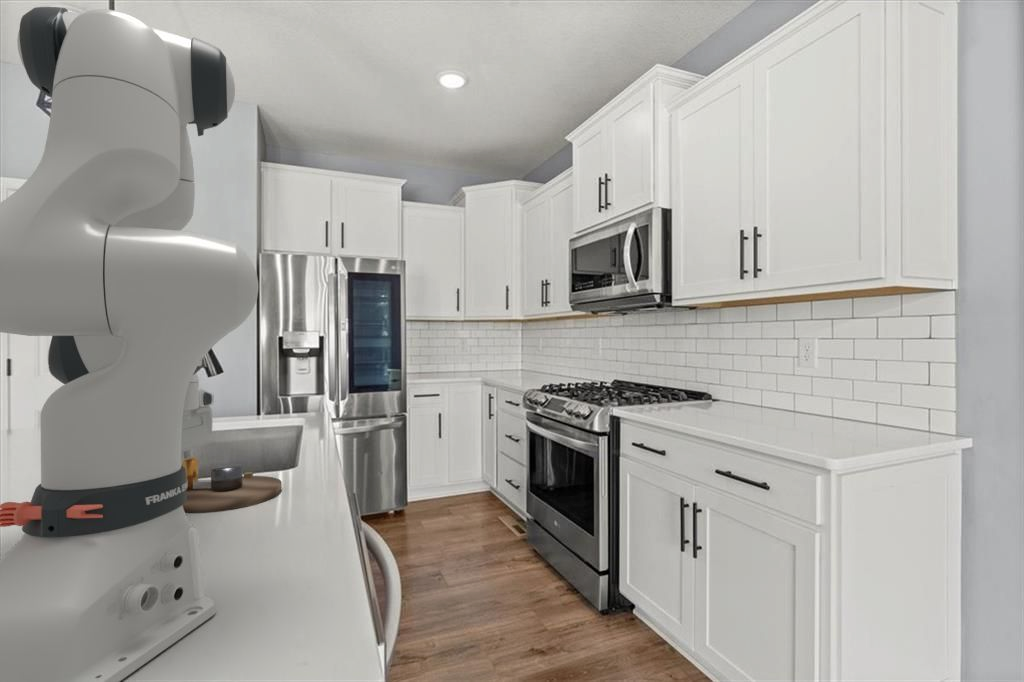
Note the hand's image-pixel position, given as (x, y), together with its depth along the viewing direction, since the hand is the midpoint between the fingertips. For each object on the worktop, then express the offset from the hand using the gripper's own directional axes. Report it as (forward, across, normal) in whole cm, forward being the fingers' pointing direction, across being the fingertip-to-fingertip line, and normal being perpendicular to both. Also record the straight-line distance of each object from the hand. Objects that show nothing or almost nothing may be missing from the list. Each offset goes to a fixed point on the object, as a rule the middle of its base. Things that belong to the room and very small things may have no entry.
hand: (169, 482), depth 88 cm
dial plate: (+4, +6, -7) cm, 10 cm away
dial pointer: (+3, +6, -4) cm, 8 cm away
